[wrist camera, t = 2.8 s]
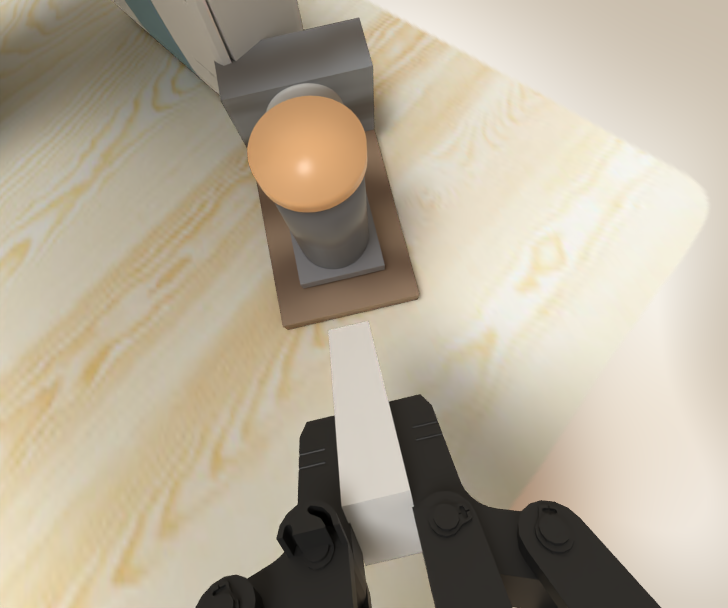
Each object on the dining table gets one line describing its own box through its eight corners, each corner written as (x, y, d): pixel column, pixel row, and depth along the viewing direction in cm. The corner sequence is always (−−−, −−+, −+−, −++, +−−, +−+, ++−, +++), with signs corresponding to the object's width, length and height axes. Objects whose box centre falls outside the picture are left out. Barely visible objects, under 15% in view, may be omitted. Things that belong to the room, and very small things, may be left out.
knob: (384, 269, 27) (387, 190, 16) (303, 288, 27) (251, 221, 16) (365, 196, 28) (357, 77, 17) (288, 213, 28) (231, 106, 17)
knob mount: (417, 299, 28) (430, 267, 21) (288, 329, 28) (255, 308, 21) (363, 102, 32) (359, 17, 25) (250, 127, 32) (212, 50, 25)
